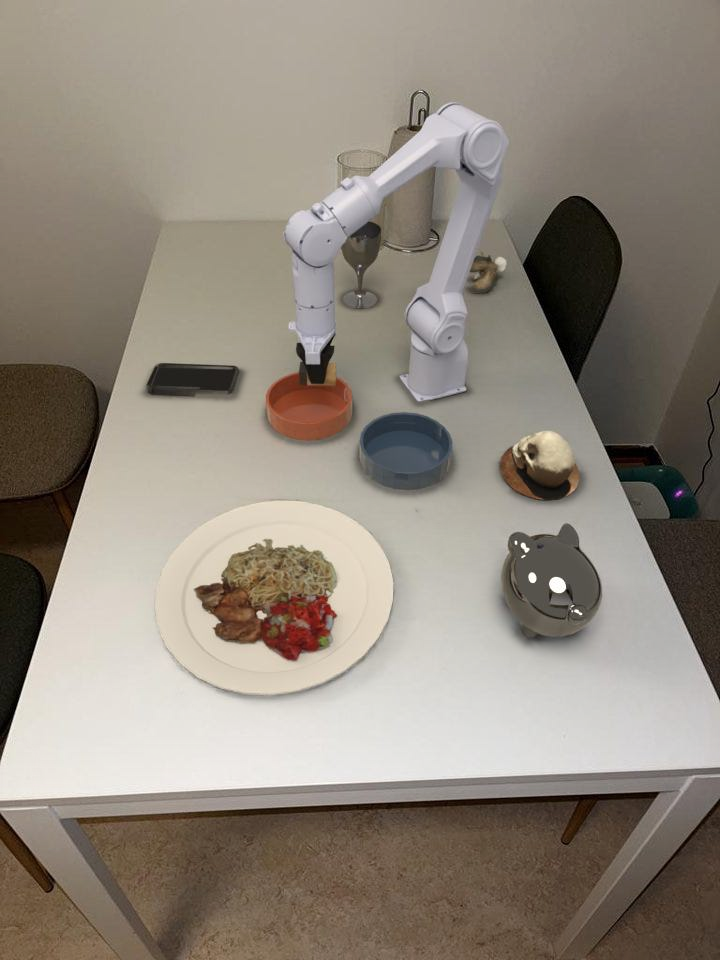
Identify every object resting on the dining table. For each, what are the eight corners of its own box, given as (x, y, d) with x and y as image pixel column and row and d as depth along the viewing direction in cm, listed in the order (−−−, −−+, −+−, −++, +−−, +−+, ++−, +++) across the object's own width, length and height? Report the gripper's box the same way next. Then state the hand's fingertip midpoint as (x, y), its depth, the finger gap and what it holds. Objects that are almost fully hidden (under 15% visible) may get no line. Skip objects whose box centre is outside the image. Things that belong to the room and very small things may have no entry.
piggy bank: (555, 559, 93) (575, 500, 85) (608, 654, 83) (635, 597, 75) (477, 573, 91) (489, 514, 83) (520, 672, 81) (539, 616, 73)
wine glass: (386, 296, 143) (389, 226, 132) (366, 313, 138) (367, 242, 128) (354, 286, 146) (354, 217, 135) (333, 302, 141) (331, 231, 131)
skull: (479, 453, 107) (526, 403, 103) (516, 474, 113) (560, 428, 110) (520, 503, 98) (572, 451, 95) (557, 522, 105) (606, 474, 102)
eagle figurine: (468, 264, 151) (453, 274, 144) (490, 240, 146) (476, 249, 140) (492, 290, 151) (477, 301, 144) (515, 267, 146) (501, 277, 140)
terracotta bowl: (334, 382, 121) (334, 363, 119) (364, 430, 112) (365, 411, 109) (257, 400, 118) (255, 381, 115) (282, 451, 108) (280, 432, 105)
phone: (156, 362, 123) (239, 365, 123) (157, 367, 124) (240, 370, 123) (144, 389, 118) (231, 392, 117) (145, 394, 118) (232, 397, 118)
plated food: (254, 482, 103) (251, 465, 101) (433, 563, 92) (435, 547, 90) (106, 627, 85) (99, 611, 82) (308, 750, 74) (306, 736, 72)
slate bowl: (425, 423, 114) (427, 404, 111) (465, 478, 104) (469, 458, 101) (346, 444, 110) (346, 424, 107) (381, 502, 100) (382, 483, 98)
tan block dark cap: (336, 376, 109) (336, 362, 108) (335, 386, 107) (335, 372, 106) (301, 375, 109) (300, 361, 108) (299, 385, 108) (298, 371, 106)
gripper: (291, 273, 104) (296, 349, 113) (281, 325, 93) (288, 404, 103) (338, 274, 104) (339, 350, 113) (333, 326, 93) (335, 405, 103)
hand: (318, 376), depth 108 cm, fingers closed on tan block dark cap, 2 cm apart
